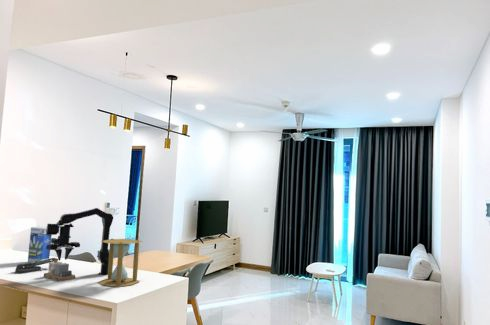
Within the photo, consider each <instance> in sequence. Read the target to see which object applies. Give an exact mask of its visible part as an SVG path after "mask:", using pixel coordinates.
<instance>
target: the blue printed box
mask: <svg viewBox="0 0 490 325" xmlns="http://www.w3.org/2000/svg"><path fill="white" fill-rule="evenodd" d="M46 229H47V226H32V227H30V235H29V244H28V245H29V246H28V255H27V263H35V262H39V261H43V260H47V259H50V257H51V256H50V255H51V254H50V253H51V250H49V249H46V246H47V245H48V244H52V243H51V239H52V236H53V235H46Z"/></svg>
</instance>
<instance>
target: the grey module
mask: <svg viewBox="0 0 490 325" xmlns="http://www.w3.org/2000/svg"><path fill="white" fill-rule="evenodd" d="M69 267H70V264H69V263H67V262H62V263H61V264H55V275H57V276H60V274H62V272H63V271H69V269H70V268H69Z"/></svg>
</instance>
